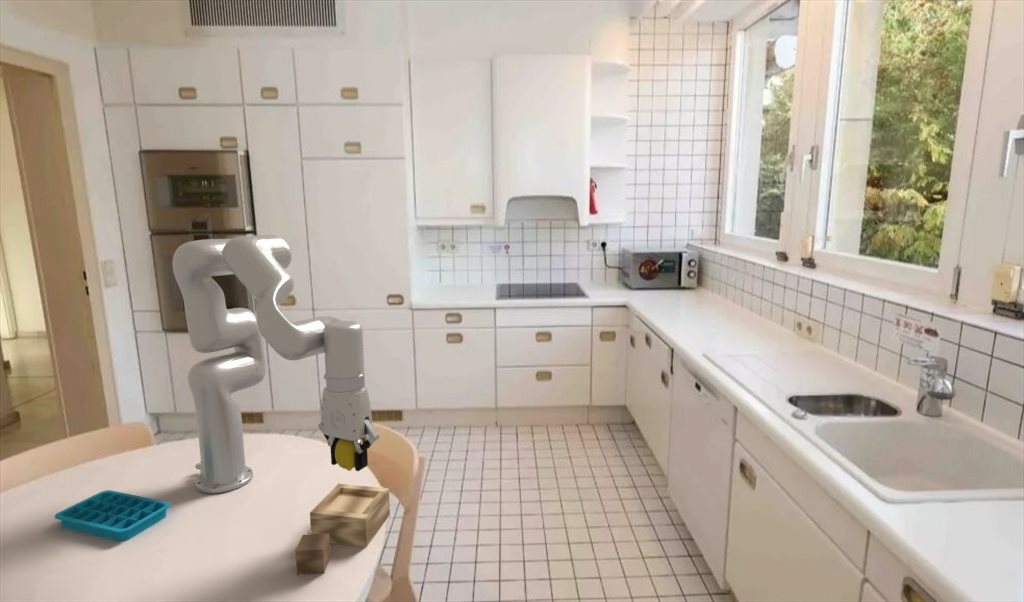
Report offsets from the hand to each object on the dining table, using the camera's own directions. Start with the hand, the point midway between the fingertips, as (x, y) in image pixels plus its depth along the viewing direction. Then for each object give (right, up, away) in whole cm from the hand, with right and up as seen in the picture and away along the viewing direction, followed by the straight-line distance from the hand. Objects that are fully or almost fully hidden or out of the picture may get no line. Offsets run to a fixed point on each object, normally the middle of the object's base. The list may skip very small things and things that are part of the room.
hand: (349, 464), depth 113 cm
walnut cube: (-4, -16, -10) cm, 19 cm away
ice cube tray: (-52, -14, +4) cm, 54 cm away
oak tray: (0, -14, +2) cm, 14 cm away
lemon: (0, -2, 0) cm, 2 cm away
